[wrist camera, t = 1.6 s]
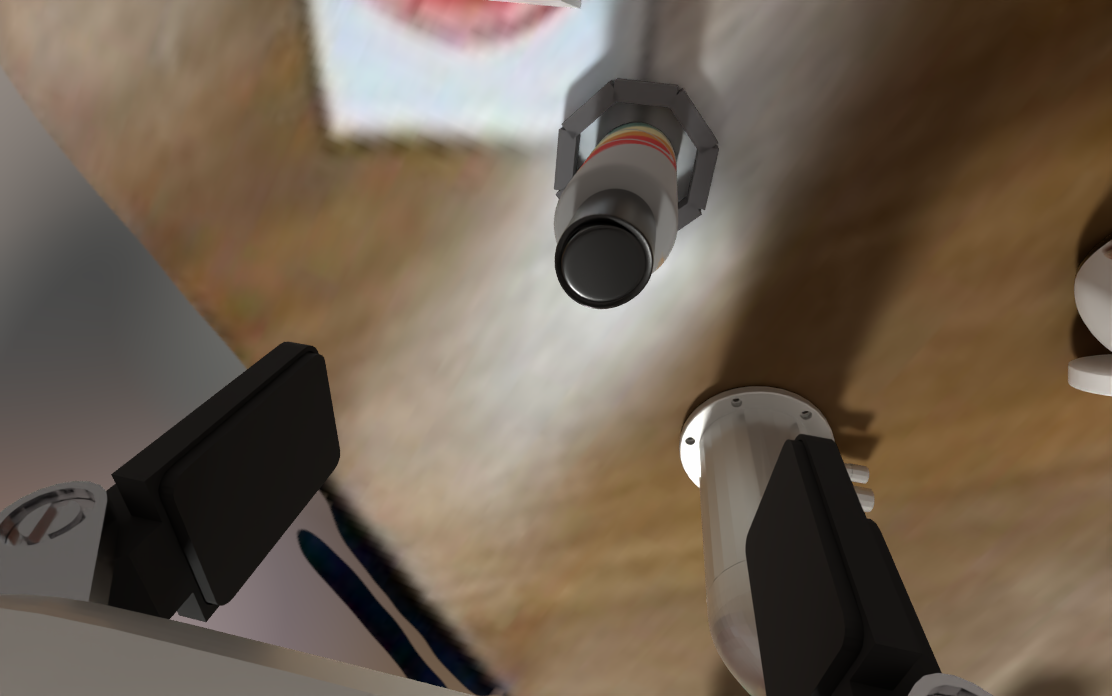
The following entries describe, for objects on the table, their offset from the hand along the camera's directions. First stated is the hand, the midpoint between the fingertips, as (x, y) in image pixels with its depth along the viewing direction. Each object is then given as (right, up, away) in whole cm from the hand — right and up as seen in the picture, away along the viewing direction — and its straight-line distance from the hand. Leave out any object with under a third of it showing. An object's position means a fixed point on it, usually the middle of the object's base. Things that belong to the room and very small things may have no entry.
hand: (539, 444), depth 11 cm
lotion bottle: (+6, +15, +26) cm, 31 cm away
